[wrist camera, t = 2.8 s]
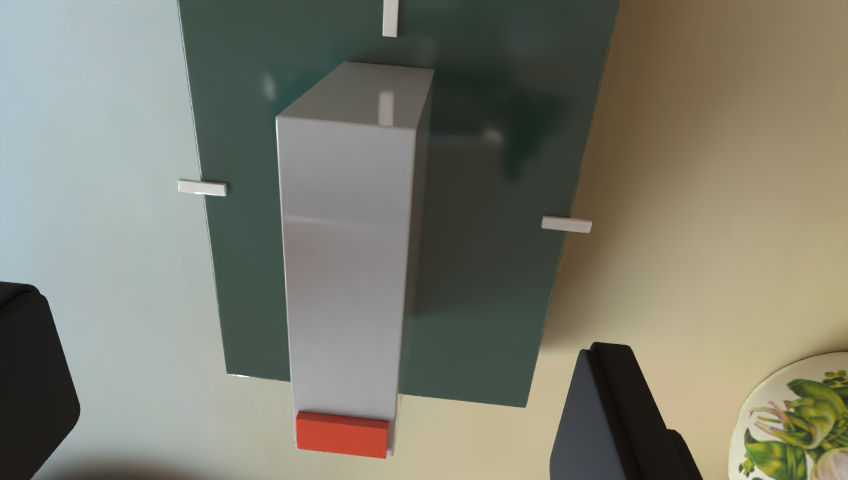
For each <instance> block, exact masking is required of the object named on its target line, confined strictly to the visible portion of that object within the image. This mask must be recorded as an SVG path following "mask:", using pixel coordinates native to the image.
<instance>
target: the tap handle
mask: <svg viewBox="0 0 848 480" xmlns="http://www.w3.org/2000/svg"><path fill="white" fill-rule="evenodd" d="M434 74H435V71H434V70H433V69H424V68H413V67H402V66H391V65H381V64H370V63H359V62H349V61H344V62H342V63H341V64H340V65H338V66H337V67H336V68H335V69H333V70H332V71H331V72H330V73H329V74H327V75H326V76H325V77H324V78H322V79H321V80H320V81H319V82H317V83H316V84H315V85H314V86H313V87H311V88H310V89H309V90H308V91H306V92H305V93H304V94H303V95H301V96H300V97H299V98H298V99H296V100H295V101H294V102H293V103H292V104H290V105H289V106H288V107H287V108H285V109H284V110H283V111H282V112H280V113H279V114H278V115H277V116H276V118H275V119H276V136H277V153H278V170H279V188H280V205H281V222H282V239H283V256H284V273H285V290H286V307H287V324H288V342H289V359H290V376H291V393H292V410H293V427H294V443H295V445H297V448H298V449H305V450H314V451H322V452H331V453H340V454H348V455H357V456H366V457H374V458H383V459H386V456H393V454H394V448H395V442H396V435H397V429H398V422H399V415H400V409H401V402H402V395H403V389H404V382H405V375H406V369H407V362H408V356H409V349H410V342H411V336H412V329H413V322H414V314H415V302H416V290H417V278H418V266H419V254H420V242H421V230H422V218H423V206H424V194H425V182H426V170H427V158H428V146H429V134H430V122H431V110H432V98H433V86H434Z"/></svg>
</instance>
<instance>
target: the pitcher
mask: <svg viewBox="0 0 848 480" xmlns="http://www.w3.org/2000/svg"><path fill="white" fill-rule="evenodd" d="M729 480H848V352H836V353H828V354H823V355H818V356H813V357H810V358H807V359H803V360H801V361H798V362H796V363H793V364H791V365H788V366H786V367H785V368H783V369H781V370H779V371H777V372H776V373H774V374H772V375H771V376H769V377H768V378H767V379H765V380H764V381H763V382H761V383H760V384H759V385H758V386H757V387H756V388H755V389H754V390H753V391H752V393H751V394H750V395H749V396H748V397H747V399H746V401H745V402H744V404H743V406H742V408H741V411H740V413H739V418H738V422H737V424H736V427H735V430H734V433H733V436H732V440H731V444H730V453H729Z"/></svg>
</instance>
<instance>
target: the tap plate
mask: <svg viewBox="0 0 848 480" xmlns="http://www.w3.org/2000/svg"><path fill="white" fill-rule="evenodd" d="M619 4H620V0H177V5H178V12H179V20H180V27H181V35H182V42H183V50H184V57H185V65H186V72H187V80H188V87H189V94H190V102H191V109H192V117H193V124H194V132H195V139H196V147H197V154H198V162H199V169H200V177H201V181H197V180H188V179H179V180H178V185H179V191H180V192H190V193H199V194H203V199H204V206H205V214H206V221H207V229H208V236H209V244H210V251H211V259H212V266H213V274H214V281H215V288H216V296H217V303H218V311H219V318H220V326H221V333H222V341H223V348H224V356H225V363H226V371H227V374H228V375H235V376H243V377H252V378H261V379H270V380H279V381H288V382H291V376H290V359H289V342H288V324H287V307H286V290H285V273H284V256H283V239H282V222H281V205H280V188H279V170H278V153H277V136H276V119H275V118H276V116H277V115H278V114H279V113H280V112H282V111H283V110H284V109H285V108H287V107H288V106H289V105H290V104H292V103H293V102H294V101H295V100H296V99H298V98H299V97H300V96H301V95H303V94H304V93H305V92H306V91H308V90H309V89H310V88H311V87H313V86H314V85H315V84H316V83H317V82H319V81H320V80H321V79H322V78H324V77H325V76H326V75H327V74H329V73H330V72H331V71H332V70H333V69H335V68H336V67H337V66H338V65H340V64H341V63H342V62H344V61H349V62H359V63H370V64H381V65H391V66H402V67H413V68H424V69H433V70H434V71H435V74H434V86H433V98H432V110H431V122H430V134H429V146H428V158H427V170H426V182H425V194H424V206H423V218H422V230H421V242H420V254H419V266H418V278H417V290H416V302H415V314H414V322H413V329H412V336H411V342H410V349H409V356H408V362H407V369H406V375H405V382H404V389H403V394H405V395H414V396H423V397H432V398H441V399H450V400H459V401H468V402H477V403H486V404H495V405H504V406H513V407H522V408H525V407H526V405H527V401H528V397H529V392H530V388H531V384H532V379H533V375H534V371H535V366H536V362H537V358H538V353H539V349H540V345H541V341H542V336H543V332H544V328H545V323H546V319H547V315H548V310H549V306H550V302H551V297H552V293H553V289H554V284H555V280H556V276H557V271H558V267H559V263H560V258H561V254H562V250H563V245H564V241H565V237H566V233H567V231H574V232H584V233H590V229H591V225H592V221H591V220H585V219H575V218H570V215H571V211H572V207H573V202H574V198H575V194H576V189H577V185H578V181H579V176H580V172H581V168H582V163H583V159H584V155H585V150H586V146H587V142H588V137H589V133H590V129H591V125H592V120H593V116H594V112H595V107H596V103H597V99H598V94H599V90H600V86H601V81H602V77H603V73H604V68H605V64H606V60H607V55H608V51H609V47H610V42H611V38H612V34H613V29H614V25H615V21H616V17H617V12H618V8H619Z"/></svg>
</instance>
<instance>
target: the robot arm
mask: <svg viewBox="0 0 848 480" xmlns="http://www.w3.org/2000/svg"><path fill="white" fill-rule="evenodd" d="M79 416H80V404H79V400H78V397H77V394H76V391H75V388H74V384H73V381H72V378H71V375H70V371H69V368H68V365H67V362H66V359H65V355H64V352H63V349H62V346H61V342H60V339H59V336H58V333H57V330H56V326H55V323H54V320H53V317H52V313H51V310H50V307H49V304H48V301H47V299H46V297H45V296H43V295H41V294H40V292H39V290H38V289H37V288H36V287H35V286H33V285H29V284H21V283H11V282H1V281H0V480H30V479H31V478H32V477H33V476H34V474H35V473H36V472H37V471H38V470H39V468H40V467H41V466H42V465H43V464H44V462H45V461H46V460H47V459H48V458H49V457H50V455H51V454H52V453H53V452H54V451H55V449H56V448H57V447H58V446H59V445H60V443H61V442H62V441H63V440H64V439H65V437H66V436H67V435H68V434H69V433H70V432H71V430H72V429H73V428H74V426H75V425H76V423H77V421H78V419H79ZM550 480H703V478H702V476H701V474H700V472H699V470H698V468H697V466H696V464H695V461H694V459H693V457H692V455H691V453H690V451H689V449H688V446H687V444H686V443H685V441H684V439H683V438H682V436H681V435H680V434H679V433H678V432H677V431H676V430H670V429H667V428H666V426H665V423H664V421H663V419H662V416H661V414H660V412H659V410H658V407H657V405H656V403H655V401H654V398H653V396H652V394H651V392H650V389H649V387H648V385H647V383H646V380H645V378H644V376H643V374H642V371H641V369H640V367H639V365H638V362H637V360H636V358H635V355H634V353H633V351H632V349H631V348H630V347H629V346H628V345H621V344H611V343H601V342H594V343H593V344H592V345H591V347H590V350H586V349H582V350H581V351H580V352H579V355H578V358H577V362H576V366H575V369H574V373H573V377H572V380H571V384H570V387H569V391H568V395H567V398H566V402H565V406H564V409H563V413H562V417H561V420H560V424H559V428H558V431H557V435H556V439H555V442H554V446H553V450H552V453H551V458H550Z"/></svg>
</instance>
